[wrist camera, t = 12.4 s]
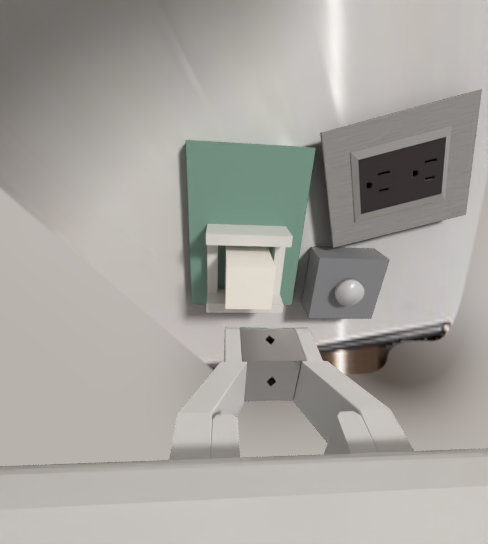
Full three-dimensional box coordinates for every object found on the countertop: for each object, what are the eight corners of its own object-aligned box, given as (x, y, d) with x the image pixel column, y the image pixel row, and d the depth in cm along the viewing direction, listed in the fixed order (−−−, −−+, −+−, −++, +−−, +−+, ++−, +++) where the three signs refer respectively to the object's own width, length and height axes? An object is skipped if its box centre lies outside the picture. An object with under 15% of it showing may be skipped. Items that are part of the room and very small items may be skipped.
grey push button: (311, 246, 29) (322, 261, 26) (374, 248, 30) (394, 263, 26) (301, 303, 32) (310, 322, 29) (359, 303, 33) (374, 323, 29)
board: (187, 140, 24) (180, 141, 20) (311, 147, 25) (327, 149, 21) (192, 298, 31) (188, 320, 27) (289, 299, 32) (298, 321, 28)
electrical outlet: (326, 240, 29) (334, 248, 27) (314, 133, 25) (322, 132, 22) (449, 209, 29) (468, 215, 27) (461, 92, 24) (485, 88, 22)
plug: (225, 244, 26) (226, 266, 22) (267, 245, 27) (276, 267, 22) (224, 286, 28) (225, 314, 24) (263, 286, 29) (270, 314, 24)
